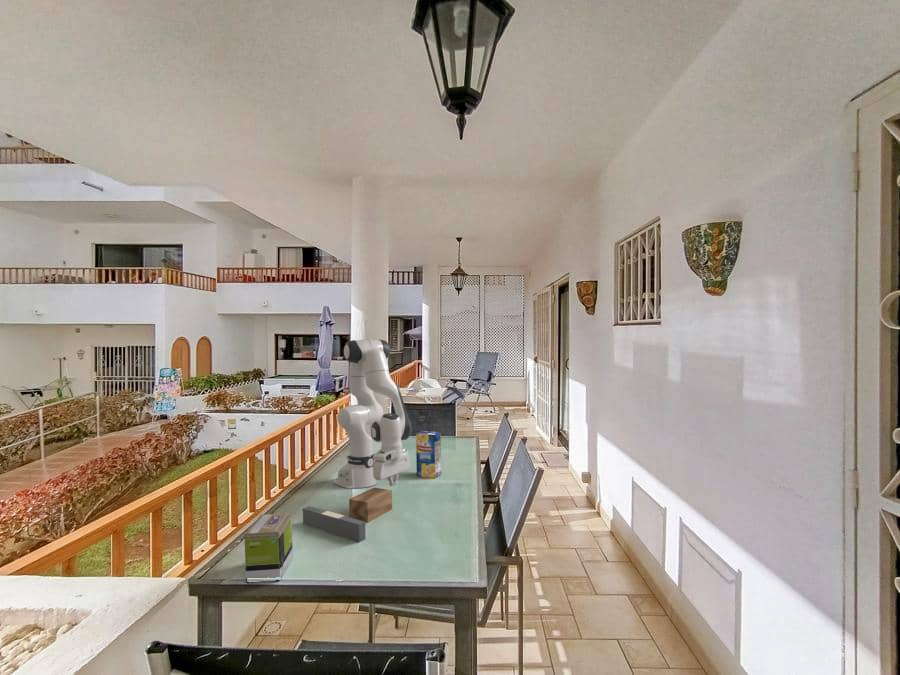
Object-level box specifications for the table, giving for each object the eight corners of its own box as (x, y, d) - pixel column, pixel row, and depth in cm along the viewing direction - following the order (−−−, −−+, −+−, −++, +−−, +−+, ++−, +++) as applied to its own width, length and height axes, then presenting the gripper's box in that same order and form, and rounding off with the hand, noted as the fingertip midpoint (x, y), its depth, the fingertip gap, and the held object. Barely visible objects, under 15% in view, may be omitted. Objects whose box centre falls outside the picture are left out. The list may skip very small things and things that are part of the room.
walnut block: (349, 519, 180) (349, 499, 180) (374, 506, 194) (374, 487, 194) (367, 523, 175) (367, 502, 175) (392, 509, 189) (391, 490, 190)
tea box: (261, 559, 147) (260, 513, 147) (293, 558, 148) (293, 511, 148) (244, 584, 132) (243, 532, 132) (280, 582, 133) (279, 530, 133)
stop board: (302, 524, 175) (302, 508, 175) (309, 521, 178) (309, 505, 178) (359, 542, 158) (359, 524, 158) (365, 538, 161) (365, 521, 161)
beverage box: (435, 478, 231) (434, 434, 232) (416, 476, 236) (415, 433, 237) (441, 474, 237) (440, 432, 238) (423, 472, 242) (422, 430, 243)
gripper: (402, 447, 206) (403, 478, 205) (370, 456, 189) (371, 490, 188) (413, 448, 202) (414, 479, 202) (381, 458, 185) (382, 492, 185)
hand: (393, 485), depth 195 cm, fingers closed
